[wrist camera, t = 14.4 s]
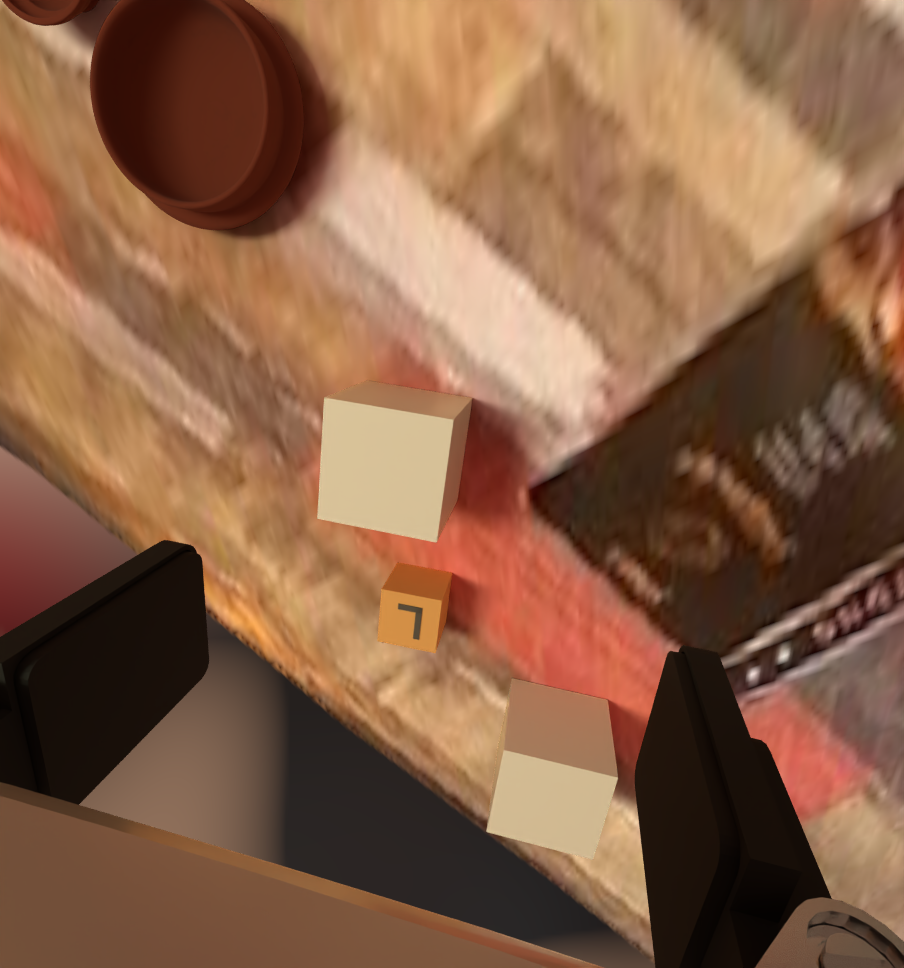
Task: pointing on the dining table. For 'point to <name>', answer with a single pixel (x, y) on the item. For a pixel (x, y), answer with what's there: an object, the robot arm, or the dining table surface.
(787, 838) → the robot arm
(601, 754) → the cover empty
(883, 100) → the dining table surface
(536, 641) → the dining table surface
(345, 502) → the cover cube
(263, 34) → the pottery
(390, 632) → the letter cube
